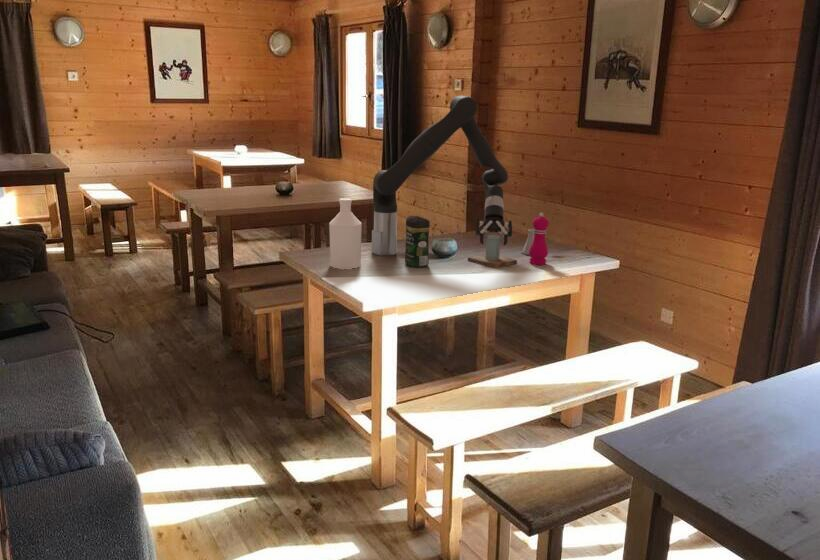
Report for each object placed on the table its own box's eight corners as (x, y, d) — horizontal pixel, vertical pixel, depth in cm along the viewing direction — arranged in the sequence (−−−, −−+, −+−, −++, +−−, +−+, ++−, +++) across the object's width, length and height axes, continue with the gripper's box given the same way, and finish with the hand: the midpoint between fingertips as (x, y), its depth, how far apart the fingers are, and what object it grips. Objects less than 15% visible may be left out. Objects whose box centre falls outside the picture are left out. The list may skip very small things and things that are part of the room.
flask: (540, 256, 277) (542, 232, 274) (522, 255, 277) (524, 231, 274) (537, 252, 284) (539, 228, 281) (520, 251, 284) (521, 228, 281)
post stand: (494, 267, 255) (494, 251, 254) (467, 260, 266) (468, 245, 264) (516, 263, 263) (517, 247, 262) (490, 256, 274) (491, 241, 272)
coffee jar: (401, 262, 259) (402, 214, 254) (420, 261, 262) (421, 213, 258) (412, 268, 251) (413, 219, 246) (431, 267, 254) (433, 218, 249)
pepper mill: (540, 260, 268) (544, 210, 263) (550, 264, 262) (554, 213, 257) (524, 261, 266) (528, 211, 260) (534, 266, 259) (538, 214, 254)
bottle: (359, 261, 259) (359, 196, 253) (363, 269, 248) (364, 201, 242) (328, 262, 257) (327, 196, 250) (331, 270, 246) (330, 201, 239)
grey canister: (492, 260, 261) (493, 238, 258) (482, 258, 265) (483, 235, 262) (501, 259, 264) (503, 236, 262) (491, 256, 268) (493, 234, 266)
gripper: (476, 203, 267) (475, 237, 259) (513, 204, 266) (512, 239, 257) (475, 214, 273) (474, 248, 265) (511, 215, 272) (511, 249, 264)
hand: (493, 243), depth 261 cm, fingers open, 8 cm apart
